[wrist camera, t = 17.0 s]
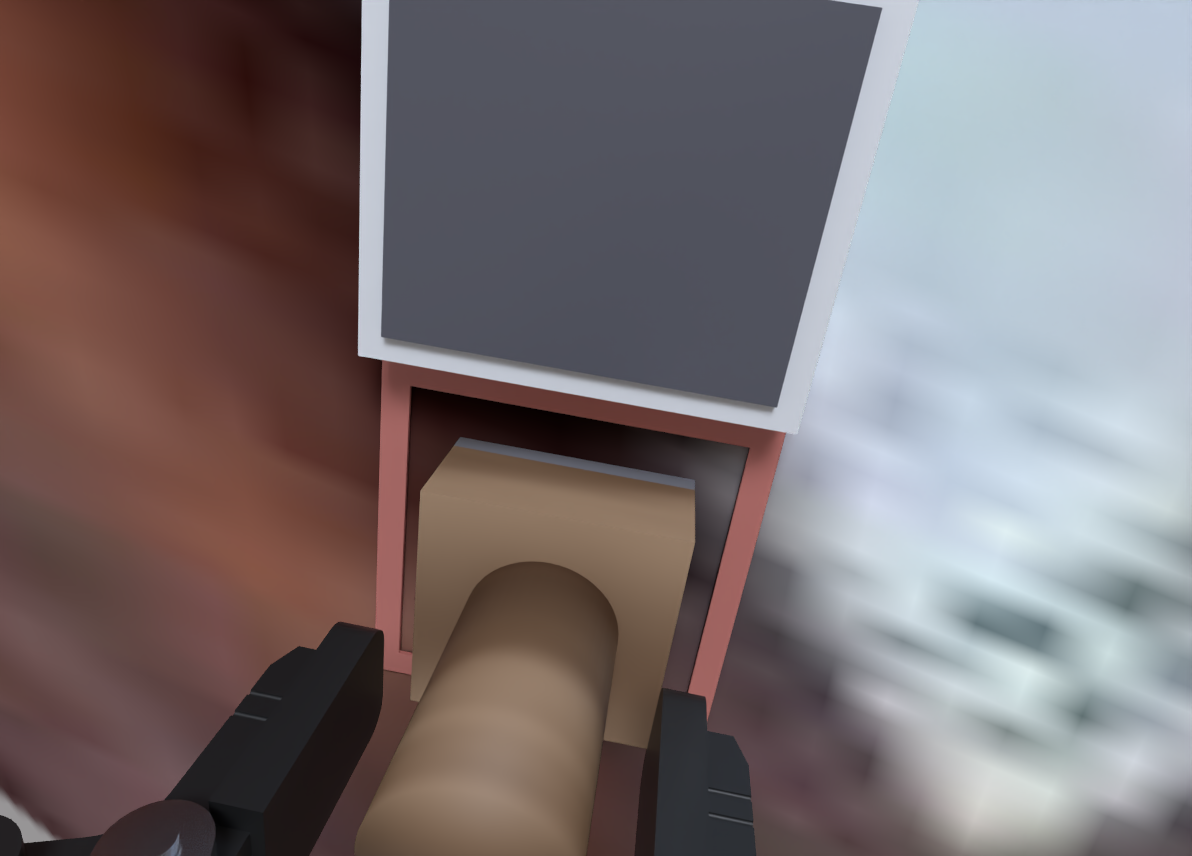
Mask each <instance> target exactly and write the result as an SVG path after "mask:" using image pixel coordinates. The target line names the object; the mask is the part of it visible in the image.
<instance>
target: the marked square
mask: <svg viewBox="0 0 1192 856" xmlns="http://www.w3.org/2000/svg"><path fill="white" fill-rule="evenodd" d="M412 386H414V387H419V388H425V389H430V390H436V391H441V392H447V393H452V394H458V395H463V396H469V397H474V398H480V399H485V400H491V401H496V402H502V403H507V404H513V405H518V406H524V407H529V408H535V409H540V410H546V411H551V412H556V413H562V414H567V415H573V416H578V417H584V418H589V419H595V420H600V421H606V422H611V423H617V424H622V425H628V426H633V427H639V428H644V429H650V430H655V431H661V432H666V433H672V434H677V435H683V436H688V437H694V438H699V439H705V440H710V441H716V442H721V443H727V444H732V445H738V446H743V447H749V452H748V456H747V460H746V464H745V467H744V471H743V475H742V479H741V483H740V487H739V491H738V495H737V499H736V503H735V507H734V511H733V515H732V519H731V523H730V527H729V531H728V535H727V539H726V542H725V546H724V550H723V554H722V558H721V562H720V566H719V570H718V574H717V578H716V582H715V586H714V590H713V594H712V598H711V602H710V606H709V610H708V613H707V617H706V621H705V625H704V629H703V633H702V637H701V641H700V645H699V649H698V653H697V657H696V661H695V665H694V669H693V673H692V677H691V681H690V684H689V688H688V692H687V693H691V694H696V695H701V696H705V697H706V704H707V720H708V716H709V713H710V709H711V705H712V702H713V698H714V694H715V691H716V687H717V683H718V680H719V676H720V672H721V669H722V665H723V661H724V658H725V654H726V650H727V647H728V643H729V639H730V636H731V632H732V628H733V625H734V621H735V617H736V614H737V610H738V607H739V603H740V599H741V596H742V592H743V588H744V585H745V581H746V577H747V574H748V570H749V566H750V563H751V559H752V555H753V552H754V548H755V544H756V541H757V537H758V533H759V530H760V526H761V522H762V519H763V515H764V511H765V508H766V504H767V500H768V497H769V493H770V490H771V486H772V482H773V479H774V475H775V471H776V468H777V464H778V460H779V457H780V453H781V449H782V446H783V442H784V438H785V435H786V433H785V432H779V431H774V430H768V429H763V428H757V427H752V426H746V425H741V424H735V423H729V422H724V421H718V420H713V419H707V418H702V417H696V416H691V415H685V414H680V413H674V412H668V411H663V410H657V409H652V408H646V407H641V406H635V405H630V404H624V403H619V402H613V401H607V400H602V399H596V398H591V397H585V396H580V395H574V394H569V393H563V392H558V391H552V390H546V389H541V388H535V387H530V386H524V385H519V384H513V383H508V382H502V381H496V380H491V379H485V378H480V377H474V376H469V375H463V374H458V373H452V372H447V371H441V370H435V369H430V368H424V367H419V366H413V365H408V364H402V363H397V362H391V361H386V360H382V393H381V432H380V471H379V511H378V550H377V589H376V629H379V630H382V631H383V633H384V668H383V669H385V670H390V671H395V672H400V673H405V674H410V675H411V673H412V653H411V652H406V651H401V650H400V646H401V623H402V600H403V577H404V554H405V531H406V508H407V485H408V462H409V439H410V415H411V392H412Z"/></svg>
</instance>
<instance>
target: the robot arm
mask: <svg viewBox="0 0 1192 856" xmlns="http://www.w3.org/2000/svg"><path fill="white" fill-rule="evenodd" d="M383 668H384V633H383V631H382V630H379V629H374V628H369V627H364V626H359V625H354V624H349V623H344V622H338V623H336V624H335V625H334V626H333V627H332V629H331V630H330V631H329V633H328V634H327V636H326V637H325V638H324V640H323V641H322V643H321V644H320V645H319V647H318V648H317V650H314V649H310V648H305V647H300V646H299V647H297V648H295V649H294V650H292V651H291V652H289V653H288V654H286V655H285V656H283V657H282V658H280V659H279V660H277V661H276V662H274V663H273V664H271V665H270V666H269V667H268V669H267V670H266V671H265V672H264V674H263V675H262V676H261V678H260V679H259V680H258V681H257V683H256V684H255V685H254V687H253V688H252V689H251V692H250V694H249V695H247V696H246V697H245V698H244V699H243V701H242V702H241V703H240V705H239V706H238V707H237V708H236V710H235V713H234V715H233V716H230V717H229V719H228V720H227V721H226V722H225V724H224V725H223V726H222V728H221V729H220V730H219V731H218V733H217V734H216V735H215V737H214V738H213V739H212V740H211V742H210V743H209V744H208V746H207V747H206V748H205V749H204V751H203V752H202V753H201V754H200V756H199V757H198V758H197V760H196V761H195V762H194V763H193V765H192V766H191V767H190V769H189V770H188V771H187V772H186V774H185V775H184V776H183V778H182V779H181V780H180V781H179V783H178V784H177V785H176V786H175V788H174V789H173V790H172V792H171V793H170V794H169V795H168V796H167V797H166V798H165V800H164V801H159V802H155V803H151V804H148V805H146V806H143V807H140V808H138V809H136V810H134V811H132V812H130V813H129V814H127V815H126V816H124V817H123V818H121V819H119V820H118V821H117V822H116V823H115V824H113V825H112V826H111V827H110V828H109V829H108V830H107V831H106V832H105V833H104V834H102V835H98V836H92V837H85V838H75V839H64V840H54V841H43V842H33V843H24V842H23V839H22V835H21V831H20V829H19V827H18V826H17V824H16V823H14V822H13V821H12V820H11V819H9V818H7V817H4V816H1V815H0V856H309V855H310V853H311V851H312V849H313V847H314V845H315V843H316V841H317V840H318V838H319V836H320V834H321V832H322V830H323V828H324V826H325V824H326V822H327V821H328V819H329V817H330V815H331V813H332V811H333V809H334V807H335V805H336V803H337V801H338V800H339V798H340V796H341V794H342V792H343V790H344V788H345V786H346V784H347V782H348V781H349V779H350V777H351V775H352V773H353V771H354V769H355V767H356V765H357V763H358V761H359V760H360V758H361V756H362V754H363V752H364V750H365V748H366V746H367V744H368V742H369V741H370V739H371V737H372V734H373V732H374V730H375V727H376V724H377V721H378V718H379V714H380V710H381V705H382V697H383ZM635 856H756V848H755V836H754V828H753V812H752V802H751V789H750V777H749V765H748V763H747V761H746V759H745V758H744V756H743V754H742V752H741V750H740V748H739V746H738V744H737V742H736V740H735V738H734V736H729V735H724V734H719V733H714V732H709V731H707V704H706V697H705V696H701V695H696V694H691V693H686V692H681V691H676V690H671V689H666V688H662V689H661V691H660V695H659V699H658V703H657V707H656V712H655V716H654V720H653V724H652V729H651V733H650V737H649V741H648V746H647V750H646V755H645V760H644V765H643V771H642V778H641V786H640V795H639V807H638V819H637V831H636V844H635Z"/></svg>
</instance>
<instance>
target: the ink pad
mask: <svg viewBox="0 0 1192 856" xmlns="http://www.w3.org/2000/svg"><path fill="white" fill-rule="evenodd" d="M918 3H919V0H362V53H361V142H360V231H359V320H358V356H363V357H369V358H374V359H380V360H386V361H391V362H397V363H402V364H408V365H413V366H419V367H424V368H430V369H435V370H441V371H447V372H452V373H458V374H463V375H469V376H474V377H480V378H485V379H491V380H496V381H502V382H508V383H513V384H519V385H524V386H530V387H535V388H541V389H546V390H552V391H558V392H563V393H569V394H574V395H580V396H585V397H591V398H596V399H602V400H607V401H613V402H619V403H624V404H630V405H635V406H641V407H646V408H652V409H657V410H663V411H668V412H674V413H680V414H685V415H691V416H696V417H702V418H707V419H713V420H718V421H724V422H729V423H735V424H741V425H746V426H752V427H757V428H763V429H768V430H774V431H779V432H785V433H790V434H796V435H797V434H798V430H799V427H800V423H801V420H802V416H803V413H804V409H805V405H806V402H807V398H808V395H809V391H810V388H811V384H812V380H813V377H814V373H815V370H816V366H817V363H818V359H819V356H820V352H821V348H822V345H823V341H824V338H825V334H826V331H827V327H828V323H829V320H830V316H831V313H832V309H833V306H834V302H835V299H836V295H837V291H838V288H839V284H840V281H841V277H842V274H843V270H844V266H845V263H846V259H847V256H848V252H849V249H850V245H851V242H852V238H853V234H854V231H855V227H856V224H857V220H858V217H859V213H860V209H861V206H862V202H863V199H864V195H865V192H866V188H867V185H868V181H869V177H870V174H871V170H872V167H873V163H874V160H875V156H876V152H877V149H878V145H879V142H880V138H881V135H882V131H883V128H884V124H885V120H886V117H887V113H888V110H889V106H890V103H891V99H892V95H893V92H894V88H895V85H896V81H897V78H898V74H899V71H900V67H901V63H902V60H903V56H904V53H905V49H906V46H907V42H908V38H909V35H910V31H911V28H912V24H913V21H914V17H915V14H916V10H917V6H918Z"/></svg>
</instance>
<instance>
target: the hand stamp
mask: <svg viewBox="0 0 1192 856" xmlns="http://www.w3.org/2000/svg"><path fill="white" fill-rule="evenodd" d="M694 544H695V480H692V479H686V478H681V477H675V476H670V475H664V474H659V473H654V472H648V471H643V470H637V469H632V468H626V467H621V466H615V465H610V464H604V463H599V462H594V461H588V460H583V459H577V458H572V457H566V456H561V455H555V454H550V453H545V452H539V451H534V450H528V449H523V448H517V447H512V446H506V445H501V444H495V443H490V442H485V441H479V440H474V439H468V438H463V437H460V438H459V440H458V441H457V442H456V444H455V445H454V446H453V448H452V449H451V450H450V452H449V453H448V454H447V456H446V457H445V458H444V460H443V461H442V463H441V464H440V465H439V467H438V468H437V469H436V471H435V472H434V473H433V475H432V476H431V477H430V479H429V480H428V481H427V483H426V484H425V485H424V487H423V488H422V489H421V491H420V510H419V531H418V551H417V571H416V592H415V612H414V632H413V653H412V673H411V693H410V700H412V701H417V702H419V703H418V705H417V708H416V710H415V712H414V714H413V716H412V718H411V720H410V722H409V724H408V727H407V729H406V731H405V733H404V735H403V737H402V739H401V741H400V743H399V746H398V748H397V750H396V752H395V754H394V756H393V758H392V760H391V762H390V764H389V767H388V769H387V771H386V773H385V775H384V777H383V779H382V781H381V783H380V786H379V788H378V790H377V792H376V794H375V796H374V798H373V800H372V802H371V805H370V807H369V809H368V811H367V813H366V815H365V817H364V819H363V821H362V823H361V826H360V828H359V830H358V833H357V836H356V839H355V847H354V853H355V856H586V854H587V847H588V841H589V834H590V827H591V820H592V813H593V807H594V800H595V793H596V786H597V780H598V773H599V766H600V759H601V752H602V746H603V740H606V741H611V742H616V743H621V744H625V745H630V746H635V747H640V748H645V749H647V746H648V741H649V737H650V733H651V729H652V724H653V720H654V716H655V712H656V707H657V703H658V699H659V695H660V691H661V687H662V683H663V679H664V674H665V670H666V666H667V661H668V657H669V653H670V648H671V644H672V640H673V635H674V631H675V627H676V622H677V618H678V614H679V609H680V605H681V601H682V596H683V592H684V588H685V583H686V579H687V575H688V570H689V566H690V562H691V557H692V553H693V549H694Z"/></svg>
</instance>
